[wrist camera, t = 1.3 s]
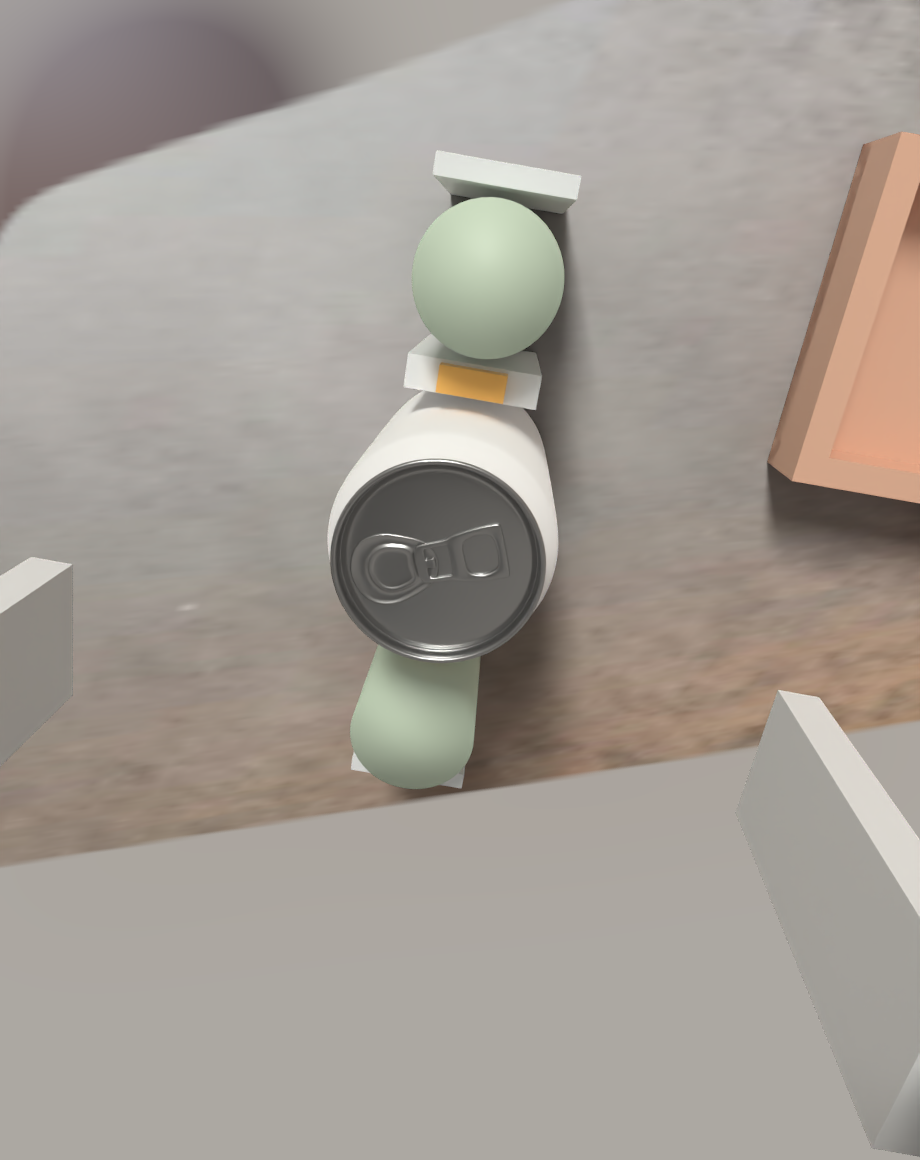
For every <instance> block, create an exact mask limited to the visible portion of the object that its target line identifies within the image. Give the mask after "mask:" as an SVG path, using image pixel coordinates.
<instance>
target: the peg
mask: <svg viewBox="0 0 920 1160" xmlns="http://www.w3.org/2000/svg"><path fill="white" fill-rule="evenodd" d="M480 659H481V656H479V657H476V658H473V659H470V660H466V661H460V662H453V663H429V662H422V661H417V660H413V659H409V658H406V657H403V656H400V655H398V654H395V653H393V652H391V651H389V650H387V649H385V648H383V647H382V646H380V645H379V644H378V647H377V650H376V652H375V655H374V658H373V661H372V664H371V666H370V669H369V672H368V675H367V678H366V681H365V683H364V686H363V689H362V692H361V695H360V698H359V700H358V703H357V706H356V709H355V712H354V714H353V717H352V721H351V726H350V737H351V743H352V747H353V749H354V752H355V754H356V756H357V758H358V759H359V761H360V762H361V764H362V765H363V766H364V767H365V768H366V769H367V770H368V771H369V772H370V773H371V774H372V775H374V776H375V777H377V778H378V779H380V780H382V781H384V782H386V783H388V784H390V785H393V786H396V787H401V788H407V789H424V788H430V787H434V786H437V785H440V784H442V783H444V782H446V781H448V780H450V779H451V778H453V777H454V776H455V775H457V774H458V773H459V772H460V771H461V770H462V769H463V767H464V766H465V765H466V763H467V762H468V760H469V758H470V755H471V753H472V749H473V743H474V733H475V720H476V708H477V696H478V684H479V672H480Z"/></svg>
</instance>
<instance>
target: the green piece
mask: <svg viewBox="0 0 920 1160" xmlns="http://www.w3.org/2000/svg"><path fill="white" fill-rule="evenodd" d="M563 289H564V265H563V259H562V255H561V251H560V249H559V246H558V244H557V241H556V239H555V238H554V236H553V234H552V232H551V231H550V229H549V228H548V227H547V225H546V224H545V223H544V222H543V221H542V220H541V219H540V218H539V217H538V216H537V215H536V214H535V213H533V212H532V211H531V210H529V209H528V208H526V207H524V206H523V205H521V204H518V203H516V202H514V201H511V200H507V199H503V198H496V197H480V198H475V199H470V200H467V201H464V202H461V203H459V204H457V205H455V206H453V207H451V208H450V209H448V210H447V211H445V212H444V213H443V214H441V215H440V216H439V217H438V218H437V219H436V220H435V221H434V222H433V223H432V224H431V226H430V227H429V228H428V229H427V231H426V233H425V234H424V236H423V237H422V239H421V241H420V243H419V246H418V248H417V251H416V254H415V257H414V262H413V267H412V290H413V296H414V301H415V304H416V307H417V310H418V312H419V314H420V317H421V319H422V320H423V322H424V324H425V325H426V327H427V328H428V329H429V331H430V332H431V333H432V334H433V336H435V337H436V338H437V339H438V340H439V341H440V342H441V343H442V344H444V345H445V346H446V347H448V348H449V349H451V350H453V351H455V352H457V353H459V354H462V355H464V356H468V357H472V358H477V359H497V358H503V357H507V356H510V355H513V354H515V353H518V352H520V351H522V350H524V349H525V348H527V347H528V346H530V345H531V344H533V343H534V342H535V341H536V340H537V339H539V337H540V336H541V335H542V334H543V333H544V332H545V331H546V330H547V328H548V327H549V326H550V324H551V323H552V321H553V319H554V317H555V315H556V313H557V311H558V308H559V306H560V303H561V299H562V295H563Z"/></svg>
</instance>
